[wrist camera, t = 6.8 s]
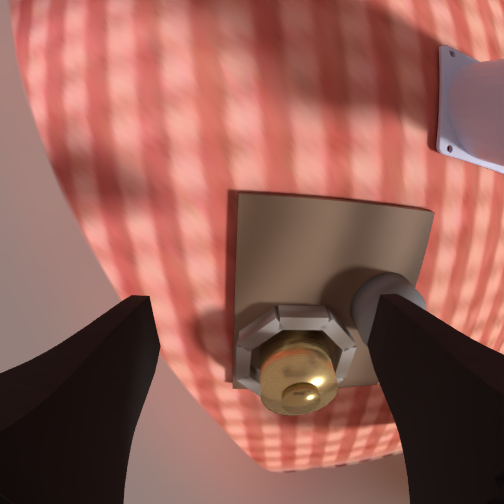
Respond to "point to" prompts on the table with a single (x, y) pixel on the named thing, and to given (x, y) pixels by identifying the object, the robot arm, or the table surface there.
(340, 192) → the table surface
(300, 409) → the brass knob
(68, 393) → the robot arm
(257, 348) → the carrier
